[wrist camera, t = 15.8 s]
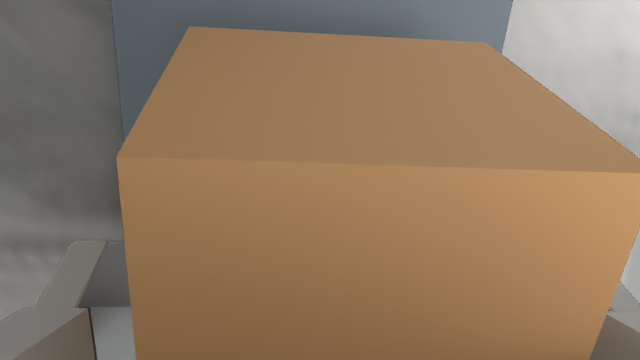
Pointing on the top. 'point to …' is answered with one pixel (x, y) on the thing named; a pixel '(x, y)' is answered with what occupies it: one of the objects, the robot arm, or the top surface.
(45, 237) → the top surface
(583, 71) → the top surface
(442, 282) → the orange block
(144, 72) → the slate mat
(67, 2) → the top surface
